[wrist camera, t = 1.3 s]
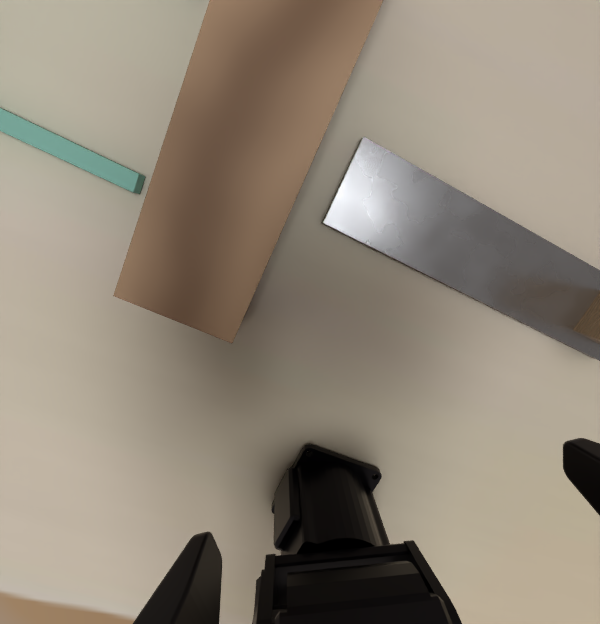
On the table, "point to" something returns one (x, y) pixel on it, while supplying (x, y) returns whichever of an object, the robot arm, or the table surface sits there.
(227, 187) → the walnut plinth
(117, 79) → the table surface
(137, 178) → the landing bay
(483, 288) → the try square
